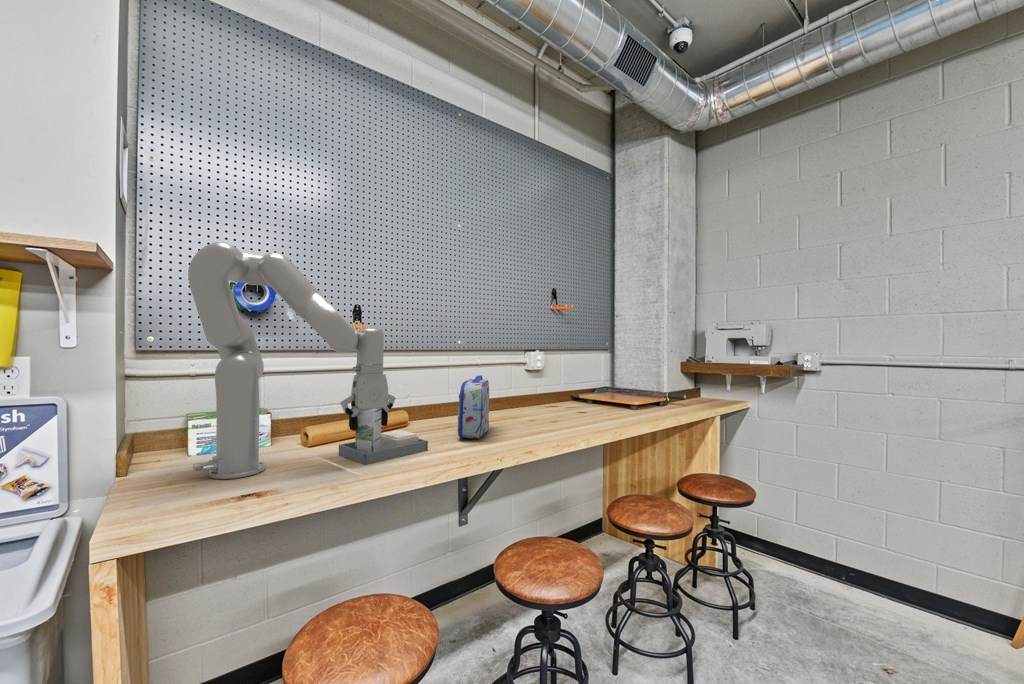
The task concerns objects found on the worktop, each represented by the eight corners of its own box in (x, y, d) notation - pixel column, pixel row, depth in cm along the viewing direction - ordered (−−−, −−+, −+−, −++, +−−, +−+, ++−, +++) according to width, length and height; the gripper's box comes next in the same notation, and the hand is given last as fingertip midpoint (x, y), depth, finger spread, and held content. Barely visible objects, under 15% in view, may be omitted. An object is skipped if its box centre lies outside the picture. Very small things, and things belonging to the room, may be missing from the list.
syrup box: (381, 453, 128) (382, 405, 128) (373, 458, 122) (373, 408, 122) (363, 452, 128) (364, 405, 128) (354, 458, 122) (354, 408, 122)
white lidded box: (396, 454, 126) (396, 438, 126) (378, 449, 133) (378, 433, 133) (418, 449, 132) (418, 433, 132) (399, 444, 139) (400, 429, 139)
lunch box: (465, 426, 174) (465, 373, 174) (490, 427, 174) (490, 373, 174) (454, 442, 147) (455, 379, 147) (484, 443, 147) (485, 379, 147)
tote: (365, 468, 116) (365, 453, 116) (338, 458, 126) (338, 444, 126) (427, 453, 132) (427, 440, 132) (399, 445, 142) (399, 433, 142)
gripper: (348, 371, 116) (347, 434, 116) (402, 369, 129) (401, 425, 129) (335, 370, 121) (334, 430, 121) (388, 368, 134) (387, 422, 134)
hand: (368, 427), depth 125 cm, fingers open, 9 cm apart
